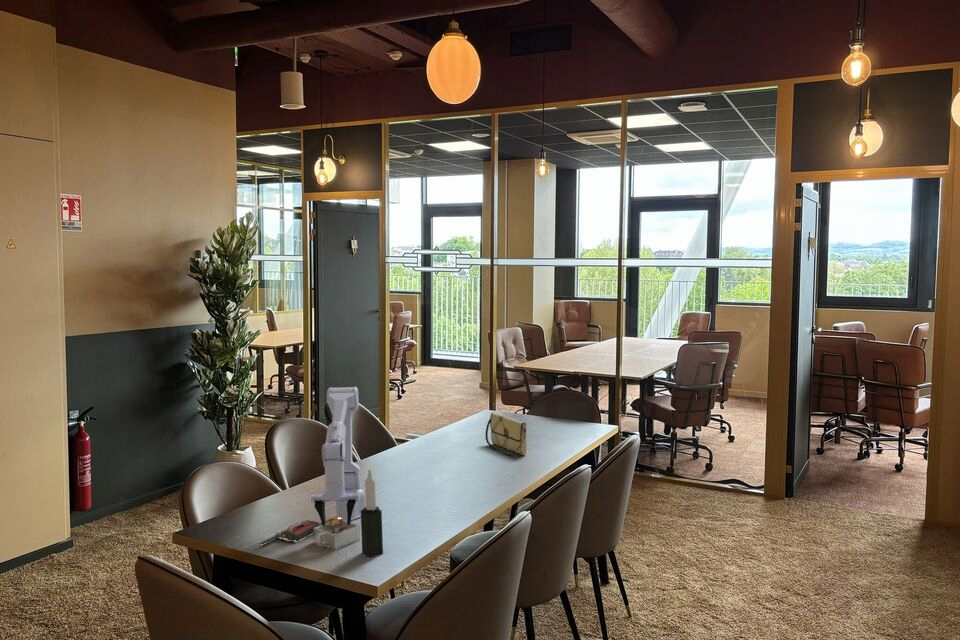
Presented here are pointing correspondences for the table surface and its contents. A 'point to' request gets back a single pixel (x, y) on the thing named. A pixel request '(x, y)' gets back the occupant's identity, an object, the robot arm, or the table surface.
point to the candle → (371, 521)
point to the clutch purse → (507, 433)
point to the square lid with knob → (336, 522)
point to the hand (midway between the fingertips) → (336, 524)
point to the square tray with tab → (336, 535)
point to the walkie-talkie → (296, 531)
